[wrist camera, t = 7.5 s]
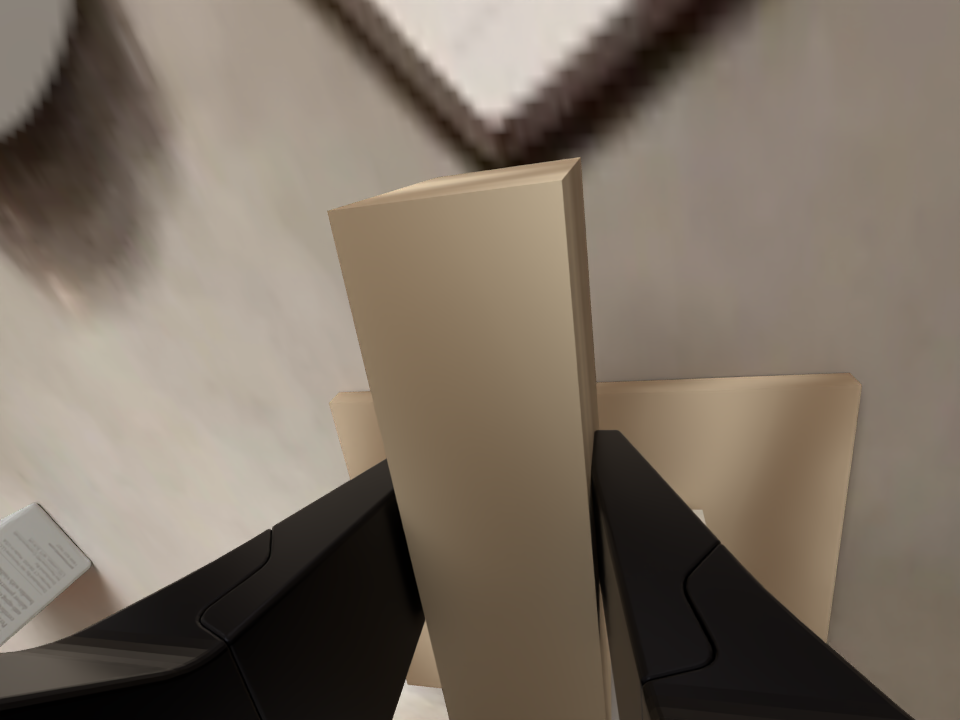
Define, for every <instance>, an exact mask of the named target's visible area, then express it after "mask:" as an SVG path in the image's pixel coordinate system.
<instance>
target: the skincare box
mask: <svg viewBox="0 0 960 720" xmlns="http://www.w3.org/2000/svg"><path fill="white" fill-rule="evenodd" d="M90 567H91V561H90V560H89V559H88V558H87V556H86V555H85V554H84V553H83V552H82V551H81V550H80V549H79V548H78V547H77V546H76V545H75V544H74V543H73V542H72V541H71V540H70V539H69V537H68V536H67V535H66V534H65V533H64V532H63V531H62V530H61V529H60V528H59V527H58V525H57V524H56V523H55V522H54V521H53V520H52V519H51V517H50V516H49V515H48V514H47V513H46V512H45V511H44V510H43V509H42V508H41V507H40V506H39V505H38V504H36V503H32V504H30V505H28V506H26V507H24V508H22V509H20V510H18V511H16V512H14V513H13V514H11V515H9V516H7V517H5V518H3V519H1V520H0V647H1V646H2V645H3V644H4V643H5V642H6V641H7V640H9V639H10V638H11V637H12V636H13V635H14V634H15V633H17V632H18V631H19V630H20V629H21V628H22V627H23V626H24V625H26V624H27V623H28V622H29V621H30V620H31V619H32V618H34V617H35V616H36V615H37V614H38V613H39V612H40V611H42V610H43V609H44V608H45V607H46V606H47V605H48V604H50V603H51V602H52V601H53V600H54V599H55V598H56V597H57V596H58V595H60V594H61V593H62V592H63V591H64V590H65V589H66V588H67V587H69V586H70V585H71V584H72V583H73V582H74V581H75V580H76V579H77V578H79V577H80V576H81V575H82V574H83V573H85V572H86V571H87V570H88V569H89V568H90Z"/></svg>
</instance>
